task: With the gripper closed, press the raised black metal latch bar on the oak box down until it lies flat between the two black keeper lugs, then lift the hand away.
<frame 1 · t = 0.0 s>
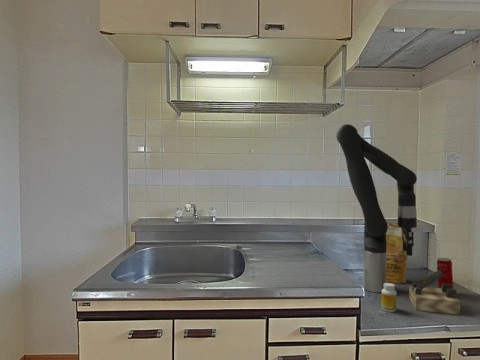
hand: (407, 253, 159), 17 cm above the worktop, tool pointing down, fingers open, 8 cm apart
supplement bottle: (388, 309, 140), on the worktop
latch bar: (427, 281, 144), point 10 cm above the worktop, hinge at 40.0°
oak box: (432, 305, 144), on the worktop
pancake mix bag: (386, 280, 175), on the worktop
beverage can: (444, 293, 158), on the worktop
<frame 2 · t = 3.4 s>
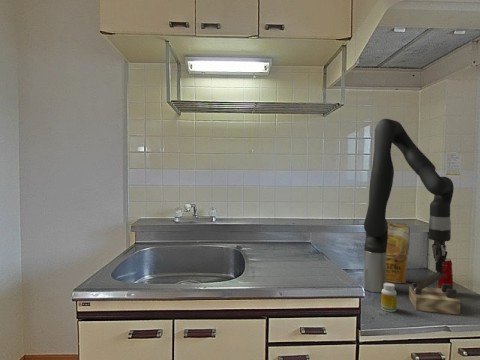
hand: (439, 271, 143), 14 cm above the worktop, tool pointing down, fingers closed
latch bar: (428, 281, 144), point 9 cm above the worktop, hinge at 38.8°, touching gripper
everything else where it was.
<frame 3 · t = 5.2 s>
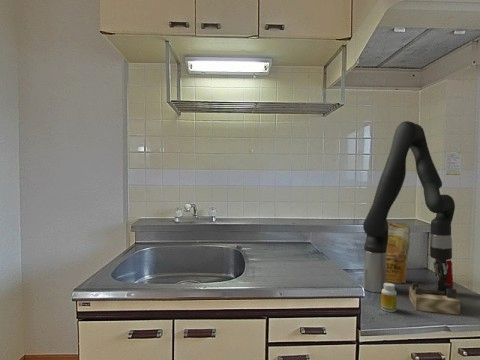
hand: (441, 289, 142), 7 cm above the worktop, tool pointing down, fingers closed
latch bar: (432, 290, 144), point 6 cm above the worktop, hinge at 1.1°, touching gripper
everything else where it was.
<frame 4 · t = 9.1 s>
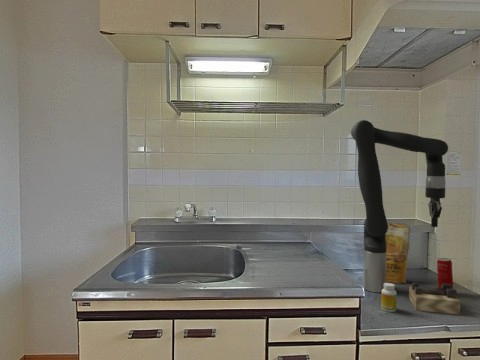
hand: (434, 226, 157), 29 cm above the worktop, tool pointing down, fingers closed
latch bar: (432, 290, 144), point 6 cm above the worktop, hinge at 0.9°
everything else where it was.
at the end: latch bar at +1° (first picture: +40°); beverage can moved 0.2 cm from its start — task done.
